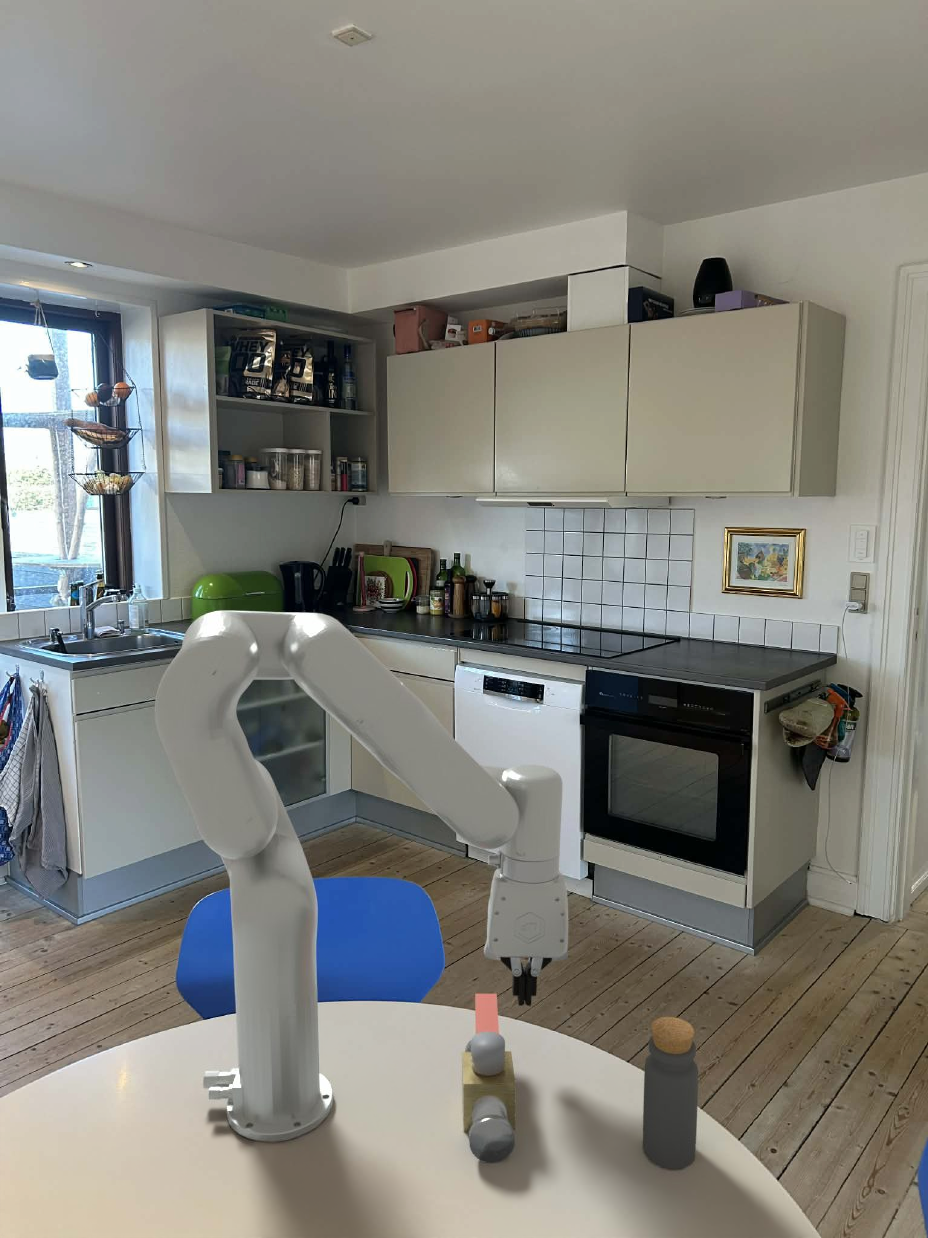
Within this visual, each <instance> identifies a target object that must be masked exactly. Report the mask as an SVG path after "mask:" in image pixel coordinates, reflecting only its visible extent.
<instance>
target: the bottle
mask: <svg viewBox="0 0 928 1238" xmlns="http://www.w3.org/2000/svg"><path fill="white" fill-rule="evenodd" d="M650 1025H651V1026H650V1031H651V1036H650V1037H649V1040H648V1051H649V1055H647V1057H646V1059H645V1060H644V1075H643V1076H644V1077H643V1105H642V1106H643V1107H642V1108H643V1110H642V1111H643V1112H642V1114H643V1115H642V1151H643V1154H644V1155H645V1157H646V1159H648V1161H649V1162H651V1163H652V1164H653V1165H655V1166H657V1167H659V1168H661V1169H665V1170H671V1171H678V1170H683V1169H686V1168H689V1167H690V1166H691V1165H692V1164H693V1163H694V1161H695V1158H696V1151H697V1150H696V1149H697V1127H698V1125H697V1123H698V1122H697V1121H698V1101H699V1099H698V1097H699V1068H698V1065H697V1063H696V1061H695V1060H694V1059H696V1056H697V1055H696V1053H697V1046H696V1043H695V1042H694V1037H695V1035H696V1034H695V1029H694V1027H693V1026H692V1024H690V1023H689V1022H688V1021H687V1020H684V1019H682V1018H679V1017H673V1016H663V1017H659V1018H656V1019H655V1020H653V1021H652V1022H651V1024H650Z"/></svg>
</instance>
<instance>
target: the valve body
mask: <svg viewBox="0 0 928 1238" xmlns="http://www.w3.org/2000/svg"><path fill="white" fill-rule="evenodd" d="M471 1040H472V1038H471V1039H470V1040H469V1041H468V1042H467V1044H466V1047H465V1051H464V1052H463V1051H462V1052H461V1093H462V1094H461V1098H462V1099H461V1100H462V1104H461V1105H462V1124H463V1125H462V1126H463V1132H468V1139H469V1141H468V1143H469V1149H470V1151H471V1154H472V1155H473V1156H474V1157H475V1158H476V1159H477V1160H479V1161H481V1162H483V1163H488V1164H494V1163H500V1162H503V1161H504V1160H505V1159H506V1160H507V1158H508V1157H510V1155H511V1154H512V1152H513V1151H514V1147H515V1144H516V1143H515V1141H516V1140H515V1133H514V1131H516V1078H515V1071H514V1068H515V1067H514V1061H513V1054H512V1051H508V1050H505V1068H504V1069H503V1071H502V1072H500V1073H499V1074H496V1075H491V1076H486V1075H481V1074H478V1073H476V1072H475V1071H474V1070H473V1069H472V1067H471Z"/></svg>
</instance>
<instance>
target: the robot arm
mask: <svg viewBox="0 0 928 1238" xmlns="http://www.w3.org/2000/svg"><path fill="white" fill-rule="evenodd" d="M160 679H161V680H160V681H159V685H158V688H157V690H156V691H157V692H156V694H155V700H154V721H155V725H156V730H157V733H158V736H159V739H160V741H161V744H162V746H163V748H164V751H165V753H166V755H167V758H168V761H169V763H170V765H171V767H172V770H173V772H174V775H175V778H176V781H177V783H178V784H179V787H180V789H181V792H182V795H183V797H184V798H185V801H186V803H187V804H188V805H187V806H188V807H189V810H190V811H191V814H192V817H193V819H194V821H195V826H196V828H197V831H198V832H199V835H200V837H201V838H202V841H204V844H205V845H206V846H208V847H209V848H210V849H211V850H212V851H213V852H215V854H218V855H219V856H220V858H221V860H222V862H223V865H224V867H225V869H226V871H227V875H228V878H229V892H230V895H229V896H230V908H231V909H230V911H231V929H232V931H231V932H232V944H233V946H232V947H233V948H232V949H233V950H232V951H233V975H234V976H233V979H234V997H235V1015H236V1018H235V1019H236V1020H235V1022H236V1041H237V1043H236V1044H237V1045H236V1046H237V1064H238V1065H237V1066H238V1067H232V1068H230V1069H231V1070H227V1071H226V1070H225V1071H223V1070H207V1071H206V1070H205V1071H204V1076H203V1080H202V1081H203V1083H202V1085H203V1089H204V1090H205V1089H208V1090H209V1091H208V1100H223V1099H227V1103H226V1118H227V1121H228V1123H229V1125H230V1126H231V1127H230V1128H232V1129H233V1130H234V1131H235V1132H237V1134H239V1135H240V1136H243V1137H245V1138H247V1139H251V1140H253V1141H259V1142H267V1143H268V1142H281V1141H287V1140H292V1139H294V1138H297V1137H298V1138H299V1137H300V1136H302V1135H304V1134H307V1133H308V1132H310V1131H312V1130H314V1129H315V1128H316V1127H318V1126H319V1125H321V1123H323V1122H324V1120H325V1119H326V1118H327V1117H328V1116H329V1114H330V1112H331V1110H332V1107H333V1103H334V1091H333V1086H332V1084H331V1083H330V1080H329V1079H328V1078H327V1077H326V1076H325V1075H323V1074H322V1073H320V1048H319V1047H320V1046H319V1045H320V1044H319V1010H318V1008H319V1007H318V981H317V980H318V978H317V972H318V971H317V934H318V916H319V915H318V912H319V911H318V910H319V908H318V899H317V893H316V888H315V887H316V886H315V884H314V880H313V876H312V873H311V869H310V867H309V864H308V861H307V858H306V855H305V852H304V849H303V846H302V844H301V841H300V840H299V839H300V838H299V837H298V835H297V832H296V831H295V828H294V826H293V823H292V822H291V819H290V817H289V814H288V812H287V810H286V808H285V805H284V803H283V801H282V798H281V796H280V794H279V791H278V789H277V787H276V785H275V782H274V780H273V778H272V776H271V774H270V772H269V771H268V769H267V768H266V767H265V766H264V765H263V764H262V763H261V762H259V760H257V759H255V758H254V755H253V752H252V751H251V749H250V747H249V746H250V745H249V744H248V743H249V742H248V740H247V737H246V735H245V733H244V731H243V729H242V727H241V725H240V722H239V720H238V716H237V706H238V703H239V700H240V698H241V696H242V695H243V694H244V692H246V690H247V689H248V687H249V686H250V685H251V683H252V682H253V681H255V680H260V681H261V680H262V681H264V680H265V681H266V680H267V681H268V680H272V681H273V680H275V681H276V680H279V681H281V680H285V681H286V680H293V681H294V682H295V683H296V684H297V686H299V688H301V689H302V690H303V691H304V692H305V694H307V695H308V696H309V697H310V699H312V700H313V701H314V702H315V703H317V704H318V705H319V706H320V707H321V708H322V709H323V710H324V711H325V712H326V713H328V714H329V715H330V716H331V717H332V718H333V719H334V720H335V721H337V722H338V723H339V725H340V726H342V727H343V729H345V730H346V731H347V732H348V733H349V734H350V735H351V736H352V737H353V738H354V739H355V740H356V741H357V742H359V743H360V744H361V746H363V747H364V748H365V750H367V751H368V752H369V753H370V754H371V755H372V756H373V757H374V758H375V759H376V760H377V761H378V762H379V763H380V764H381V765H382V766H383V767H384V768H385V769H386V770H388V772H390V773H391V774H392V775H394V776H395V777H396V778H397V779H399V781H401V782H402V783H403V784H404V785H405V786H406V787H407V788H408V789H410V790H411V792H412V793H413V794H415V796H417V798H419V800H420V801H422V802H423V803H424V804H425V805H426V806H427V808H428V809H430V810H431V811H432V812H433V813H435V815H436V816H438V818H439V819H441V820H442V821H443V822H444V823H445V824H446V825H447V826H448V827H450V829H451V830H452V831H454V833H456V834H457V836H459V837H460V838H461V839H462V840H463V841H465V843H467V844H468V845H470V846H472V847H474V848H477V849H481V850H494V849H497V848H499V851H498V850H497V853H494V854H488V858H487V860H488V861H487V865H488V866H494V867H496V869H495V871H494V873H493V877H492V881H491V886H490V890H489V898H488V904H487V905H488V906H487V907H488V908H487V916H486V917H487V918H486V936H487V937H486V941H485V944H484V948H483V954H484V957H485V958H487V959H489V960H494V961H501V962H502V963H503V964H504V965H505V967H506V968H508V970H509V971H511V974H512V984H511V986H512V987H511V991H512V992H511V994H512V996H513V997H514V996H515V997H517V1002H518V1003H517V1004H518V1006H519V1007H522V1006H525V1005H526V1006H527V1007H532V999H533V997H536V996H537V988H538V987H537V986H538V984H537V983H538V976H540V974H541V971H542V970H544V969H545V968H546V967H547V966H548V965H549V964H550V963H551V962H556V961H557V962H558V961H561V960H565V959H567V958H568V956H569V952H568V946H569V907H568V906H569V905H568V904H569V902H568V890H567V889H568V888H567V884H566V878H565V876H564V874H563V872H561V871H560V853H561V852H560V849H561V825H562V807H563V805H562V804H563V779H562V777H561V775H560V774H559V772H557V770H555V769H553V768H550V767H548V766H544V765H537V764H522V765H521V764H520V765H515V766H513V767H500V766H491V765H482V764H479V762H477V760H475V758H473V757H472V755H470V754H469V752H468V751H466V750H465V749H464V748H463V747H462V745H461V744H459V742H457V740H456V739H455V738H454V737H453V736H452V735H451V734H450V733H449V732H448V730H447V729H446V728H445V727H444V725H443V724H442V723H441V722H440V720H439V719H438V718H437V717H436V716H435V714H434V713H433V712H432V711H431V710H430V708H429V707H428V706H427V705H425V703H423V701H422V700H421V699H420V698H419V697H418V696H417V695H416V694H415V693H414V692H413V691H412V690H410V689H409V688H408V687H407V685H405V683H403V682H402V681H401V680H400V679H399V678H398V677H397V676H396V675H395V674H394V673H393V672H392V671H391V670H390V669H389V668H388V667H387V666H386V665H385V664H384V663H383V662H381V660H379V658H378V657H376V656H375V655H374V654H373V653H372V652H371V651H370V650H369V649H368V648H367V647H366V646H365V644H363V643H362V642H361V641H360V640H359V639H358V638H357V637H356V636H355V635H354V634H353V633H352V632H351V631H350V630H349V629H348V628H346V627H345V626H344V625H343V624H342V622H340V621H339V619H336V618H334V617H333V616H331V615H327V614H324V613H319V612H285V611H282V612H280V611H279V612H278V611H276V612H275V611H255V610H253V611H252V610H251V611H250V610H215V611H211V612H208V613H207V612H206V613H205V614H203V615H201V616H199V617H198V618H196V619H195V620H194V621H193V622H192V623H191V624H190V625H189V627H188V628H187V630H186V631H185V633H184V636H183V639H182V645H181V648H180V650H179V651H178V652H177V654H176V655H175V657H174V658H173V660H172V661H171V662H170V663H169V665H168V667H167V668H166V670H165V671H164V673H163V675H162V677H161V678H160ZM521 958H528V962H527V963H526V964H525V966H524V964H523V963H522V962H521Z"/></svg>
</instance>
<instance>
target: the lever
mask: <svg viewBox="0 0 928 1238" xmlns="http://www.w3.org/2000/svg"><path fill="white" fill-rule="evenodd" d="M474 995H475V997H474V1000H475V1003H474V1004H475V1005H474V1006H475V1007H474V1008H475V1010H474V1011H475V1012H474V1013H475V1017H474V1018H475V1034H474V1035H473V1036H472V1037H471V1039H472V1040H471V1039H470V1040H471V1067H472V1069H473V1070H474V1071H475V1072H476V1073H478V1074H481V1075H486V1076H491V1075H496V1074H499V1073H500V1072H502V1071H503V1069H504V1068H505V1051H506V1040H505V1038H504V1036H502V1035H501V1034H500V1028H499V1026H500V1025H499V1011H498V994H497V993H475V994H474Z"/></svg>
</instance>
